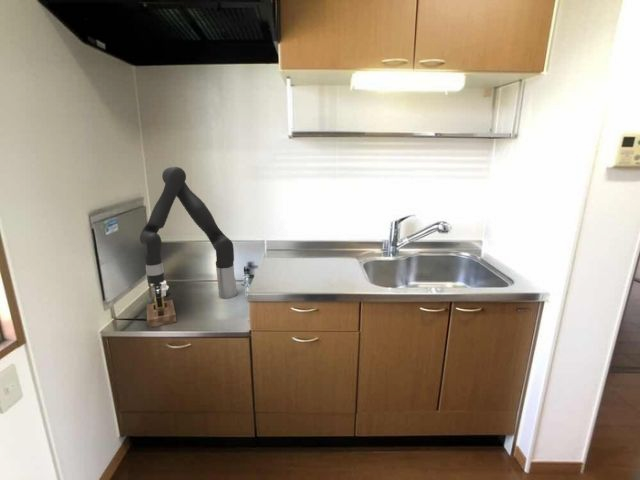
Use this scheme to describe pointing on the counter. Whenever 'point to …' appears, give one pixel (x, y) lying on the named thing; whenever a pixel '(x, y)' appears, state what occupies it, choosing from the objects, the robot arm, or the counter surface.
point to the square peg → (162, 303)
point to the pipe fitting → (164, 288)
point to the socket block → (161, 314)
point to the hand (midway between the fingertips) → (159, 304)
